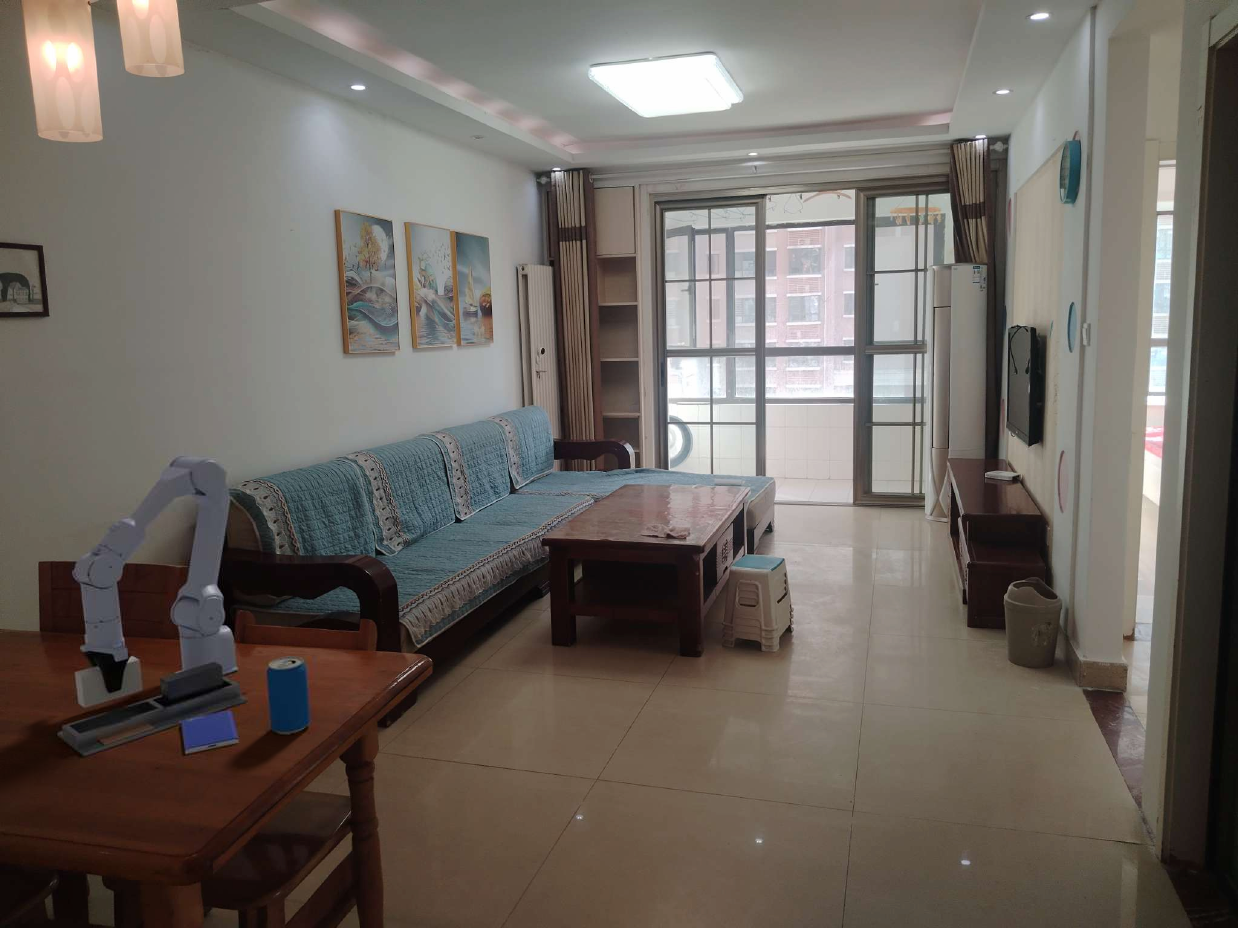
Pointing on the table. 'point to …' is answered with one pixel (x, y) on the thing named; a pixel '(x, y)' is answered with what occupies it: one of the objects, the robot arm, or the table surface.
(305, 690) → the beverage can
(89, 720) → the drive rack
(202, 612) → the robot arm
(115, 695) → the panel
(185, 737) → the hard drive
